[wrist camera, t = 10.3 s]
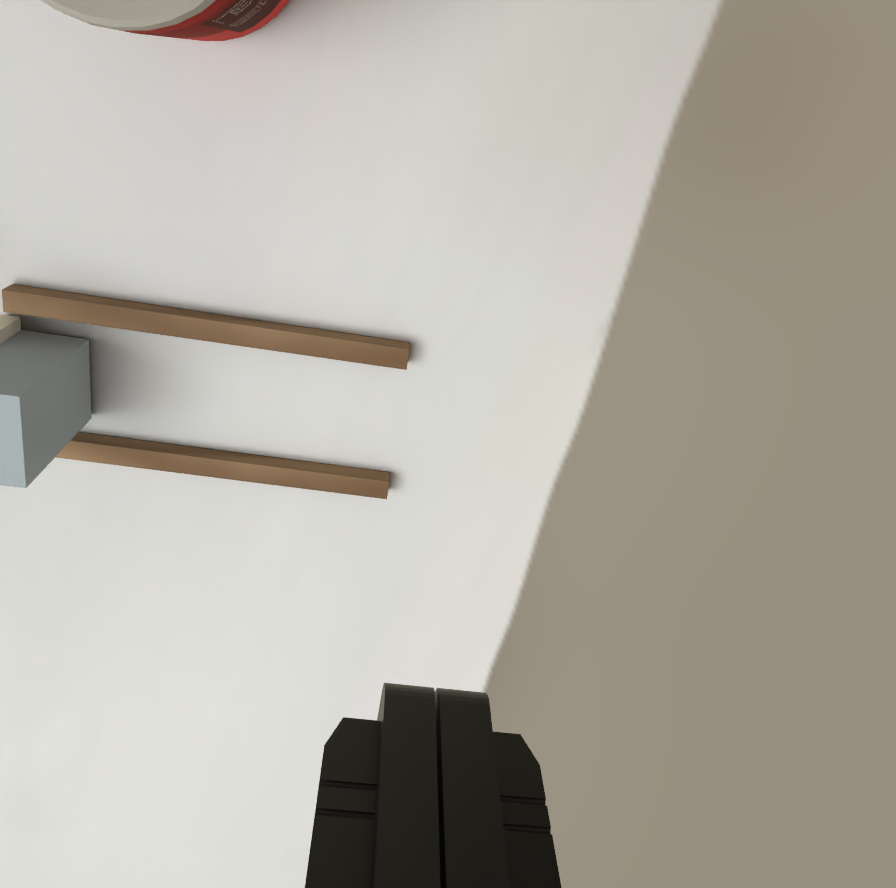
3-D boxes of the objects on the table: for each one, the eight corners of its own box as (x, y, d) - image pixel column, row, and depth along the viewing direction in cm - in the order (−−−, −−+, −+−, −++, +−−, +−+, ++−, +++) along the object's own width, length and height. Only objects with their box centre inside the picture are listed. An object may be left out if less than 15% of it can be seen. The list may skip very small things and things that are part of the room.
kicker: (1, 314, 35) (-88, 367, 29) (88, 327, 36) (18, 382, 30) (10, 418, 38) (-72, 489, 31) (91, 429, 38) (27, 501, 32)
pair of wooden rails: (12, 284, 35) (1, 289, 34) (409, 342, 37) (409, 349, 36) (24, 443, 39) (14, 452, 38) (387, 489, 40) (386, 499, 39)
